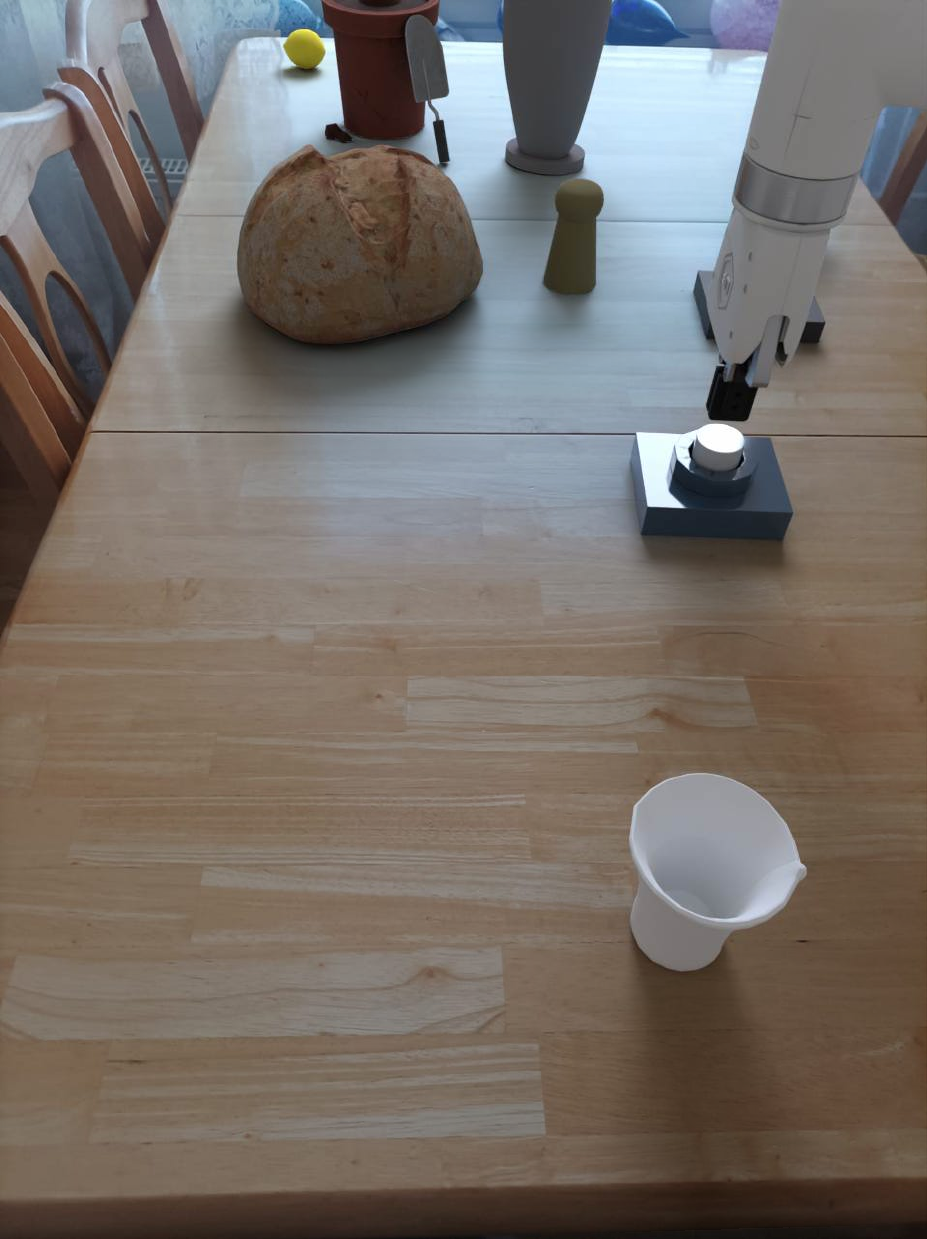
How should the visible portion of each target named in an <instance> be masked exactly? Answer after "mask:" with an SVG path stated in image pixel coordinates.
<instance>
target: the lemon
mask: <svg viewBox="0 0 927 1239" xmlns="http://www.w3.org/2000/svg"><path fill="white" fill-rule="evenodd" d="M324 44H325V43H324V42H323V40H322V38H321V37H320V36H319V34H318V33H317V32H315V31H313V30H311V29H308V28H299V29H296V30H295V31H292V32H291V33H290V34H289V35H288V37H287V38H286V40H285V41H284V42H283V45H282V48H283V50H284V52H285V54H286V56H287V57H288V59H289V60H290V62H291V63H292V64H294V65H295V66H296V67H298V68H300V69H305V70H311V69H314V68H316V67H317V66H319V65H320V64H321V63H322V61H323V60H324V58H325V55H326V47H325V45H324Z"/></svg>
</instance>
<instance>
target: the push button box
mask: <svg viewBox="0 0 927 1239" xmlns="http://www.w3.org/2000/svg"><path fill="white" fill-rule="evenodd" d="M699 429H700V428H698V429H697V428H696V429H695V430H692V431H688V432H686V433H666V432H665V433H664V432H643V431H636V432H635V434H634V440H633V444H632V449H631V452H630V453H631V454H630V458H629V463H630V469H631V477H632V483H633V491H634V498H635V504H636V505H635V506H636V512H637V518H638V526H639V532H640V536H652V537H653V536H654V537H655V536H656V537H676V538H677V537H679V538H680V537H681V538H682V537H683V538H704V539H705V538H706V539H729V540H730V539H731V540H750V541H751V540H755V541H756V540H757V541H776V542H777V541H778V542H782V541H784V539H785V536H786V533H787V531H788V528H789V526H790V523H791V520H792V518H793V516H794V510H793V507H792V503H791V500H790V497H789V493H788V491H787V487H786V483H785V481H784V477H783V474H782V470H781V468H780V464H779V461H778V457H777V455H776V452H775V448H774V445H773V442H772V439H771V438H772V437H764V436H744V438H745V446H744V449H743V452H742V456H741V459H740V462H739V464H738V466H737V467H736V468H735V469H733V470H731V471H728V472H721V471H711V470H709V469H706V468H703V467H701V466H699V465H698V464H697V463H696V462H695V461H694V460H693V458H692V449H693V446H694V442H695V438H696V434H697V432H698V430H699Z"/></svg>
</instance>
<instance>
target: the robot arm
mask: <svg viewBox="0 0 927 1239" xmlns="http://www.w3.org/2000/svg"><path fill="white" fill-rule="evenodd" d="M774 22H775V23H774V26H773V31H772V34H771V38H770V43H769V47H768V51H767V54H766V59H765V63H764V67H763V71H762V75H761V79H760V82H759V87H758V91H757V94H756V99H755V102H754V107H753V111H752V115H751V119H750V123H749V128H748V130H747V134H746V139H745V144H744V147H743V150H742V154H741V159H740V163H739V166H738V170H737V174H736V178H735V182H734V187H733V190H732V194H731V204H732V206H733V208H732V211H731V214H730V216H729V219H728V223H727V225H726V228H725V232H724V235H723V237H722V238H723V239H722V241H721V245H720V248H719V251H718V255H717V259H716V262H715V266H714V269H713V271H714V272H713V275H712V278H711V282H710V285H709V289H708V293H707V309H708V313H709V317H710V321H711V325H712V329H713V332H714V336H715V339H714V340H715V342H716V345H717V350H718V351H719V353H718V364H719V365H716V366H715V369H714V373H713V377H712V381H711V384H710V388H709V391H708V395H707V399H706V403H705V409H706V411H707V417H708V419H709V420H711V421H719V422H737V423H738V422H739V423H742V422H743V423H745V422H747V421H748V420H749V418H750V415H751V412H752V409H753V406H754V403H755V399H756V396H757V393H758V390H759V389H761V388H762V389H767V388H768V387H769V383H770V380H771V376H772V372H773V367H774V363H775V360H776V362H777V364H778V366H780V367H781V368H782V367H785V366H787V365H788V364H789V363H791V361H792V360H793V358H794V356H795V353H796V351H797V348H798V346H799V344H800V343H799V341H800V338H801V336H802V333H803V330H804V327H805V324H806V321H807V317H808V314H809V311H810V308H811V304H812V301H813V297H814V296H815V294H816V290H817V286H818V283H819V279H820V275H821V272H822V268H823V265H824V260H825V256H826V252H827V248H828V243H829V239H830V234H831V229H834V228H836V227H838V226H839V225H841V224H842V223H843V222H844V220H845V219H846V215H847V212H848V208H849V206H850V203H851V200H852V197H853V194H854V191H855V188H856V186H857V182H858V180H859V177H860V174H861V171H862V168H863V165H864V162H865V160H866V157H867V154H868V151H869V148H870V145H871V143H872V139H873V136H874V134H875V130H876V128H877V125H878V121H879V120H880V117H881V113H882V111H883V110H884V109H886V108H888V107H901V108H902V107H903V108H911V109H919V110H925V111H927V0H780V3H779V6H778V10H777V14H776V18H775V21H774Z"/></svg>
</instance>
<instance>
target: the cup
mask: <svg viewBox="0 0 927 1239" xmlns="http://www.w3.org/2000/svg"><path fill="white" fill-rule="evenodd" d="M628 845H629V846H628V847H629V851H630V856H631V860H632V863H633V865H634V866H635V868H636V870H637V872H636V874H637V882H638V886H637V891H636V892H637V893H636V896H635V898H634V901H633V903H632V906H631V907H632V908H631V911H630V917H629V924H630V929H631V932H632V936H633V937H634V939H635V942H636V944H637V946H638V948H639V950H641V951H642V952H643V953H644V954H645V955H646V956H647V958H648V959H649V960H650V961H651V962H653V963H655V964H657V965H660V966H661V967H663V968H666V969H668V970H673V971H676V972H691V971H698V970H700V969H702V968H705V967H707V966H708V965H710V964H711V963H712V962H714V961H715V960H716V958H718V956H719V954H720V953H721V951H722V948H723V945H724V944H725V942H726V940H727V939H728V937H729V936H730V935H731V934H732V932H734V931H738V930H745V929H750V928H753V927H755V926H758V925H761V924H763V923H766V922H767V921H770V919H771V918H773V917H774V916H776V914H778V913H779V912H780V911H781V910H783V909H785V907H786V905H787V904H788V902H789V900H790V898H792V895H793V894H794V891H795V890H796V888H797V886H798V884H799V883H800V882H802V880H804V879H805V878H806V877H807V875H808V873H807V872H808V871H807V866H805V864H803V863H802V862H801V859H800V855H799V851H798V847H797V844H796V842H795V839H794V836H793V835H792V833H791V830H790V828H789V826H788V824H787V822H786V821H785V820H784V818H782V816H781V815H780V814H779V812H777V810H776V809H775V807H773V805H772V804H771V803H770V802H769V801H768V800H767V799H765V798H764V797H763V795H761V794H759V793H758V792H757V791H756V790H754V789H752V788H751V787H749V786H747V785H746V784H743V783H742V782H739V781H738V780H735V779H732V778H730V777H727V776H724V775H719V774H714V773H707V772H701V773H700V772H699V773H698V772H697V773H686V774H683V775H679V776H674V777H670V778H666V779H665V780H663V781H661V782H659V783H658V784H656V785H655V786H653V787H651V788H650V789H649V790H648V791H646V793H645V794H643V796H642V797H641V798H640V799H639V800H638V801H637V802H636V803H635V804H634V805H633V809H632V817H631V824H630V830H629V836H628Z"/></svg>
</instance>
